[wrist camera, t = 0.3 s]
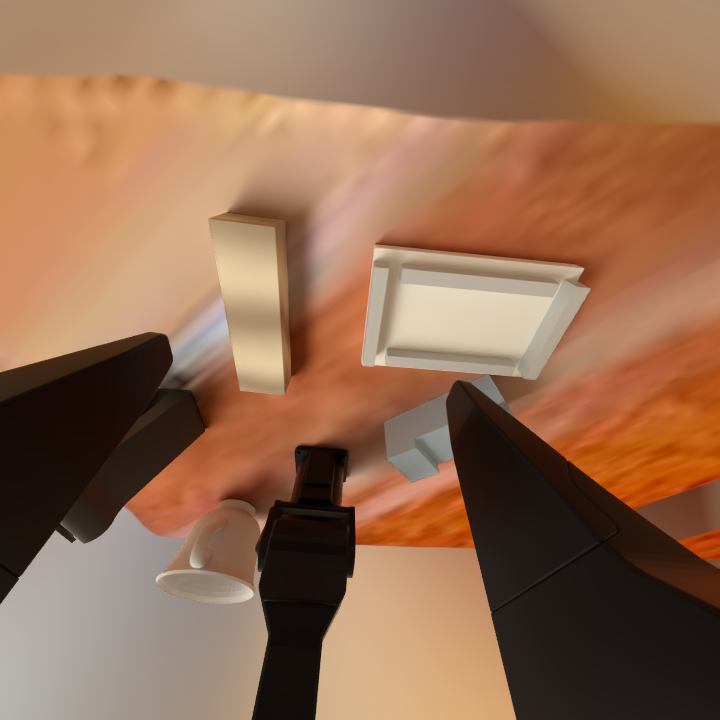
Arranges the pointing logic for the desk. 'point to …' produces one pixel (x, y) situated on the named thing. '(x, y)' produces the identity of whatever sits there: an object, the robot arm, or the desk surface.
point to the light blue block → (427, 434)
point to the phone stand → (135, 462)
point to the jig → (467, 311)
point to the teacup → (216, 557)
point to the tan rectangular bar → (255, 298)
